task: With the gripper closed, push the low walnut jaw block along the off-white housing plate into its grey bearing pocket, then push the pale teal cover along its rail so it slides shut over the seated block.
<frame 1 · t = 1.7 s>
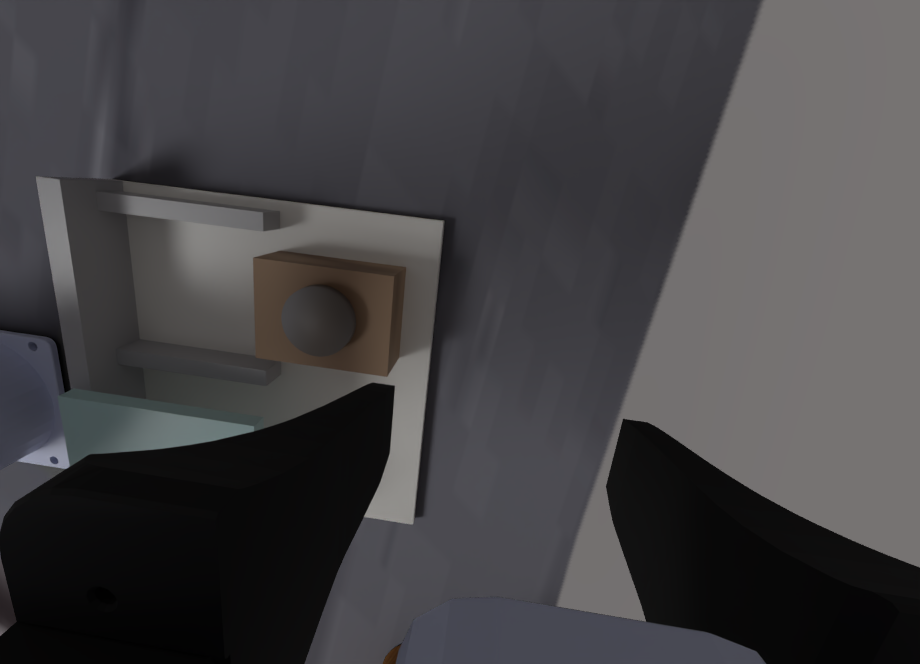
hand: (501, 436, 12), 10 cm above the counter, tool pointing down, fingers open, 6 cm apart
cover: (158, 483, 20), point 5 cm above the counter, slide at 0.0 cm
housing: (217, 285, 22), on the counter
jaw block: (341, 305, 22), resting on housing
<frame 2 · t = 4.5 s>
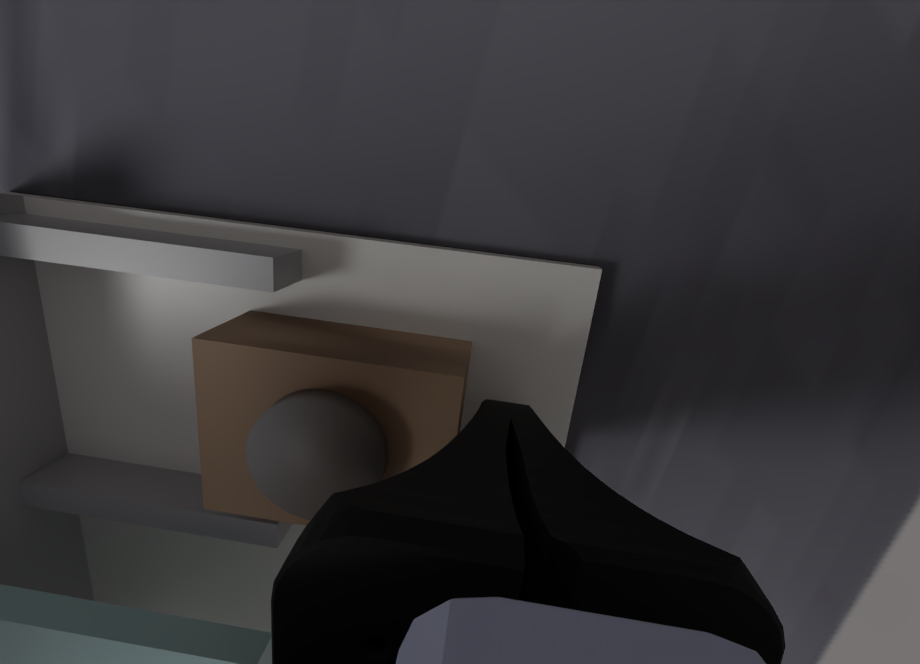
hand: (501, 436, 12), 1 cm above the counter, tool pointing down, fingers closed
housing: (193, 369, 13), on the counter
jaw block: (356, 402, 13), point 1 cm above the counter, touching gripper
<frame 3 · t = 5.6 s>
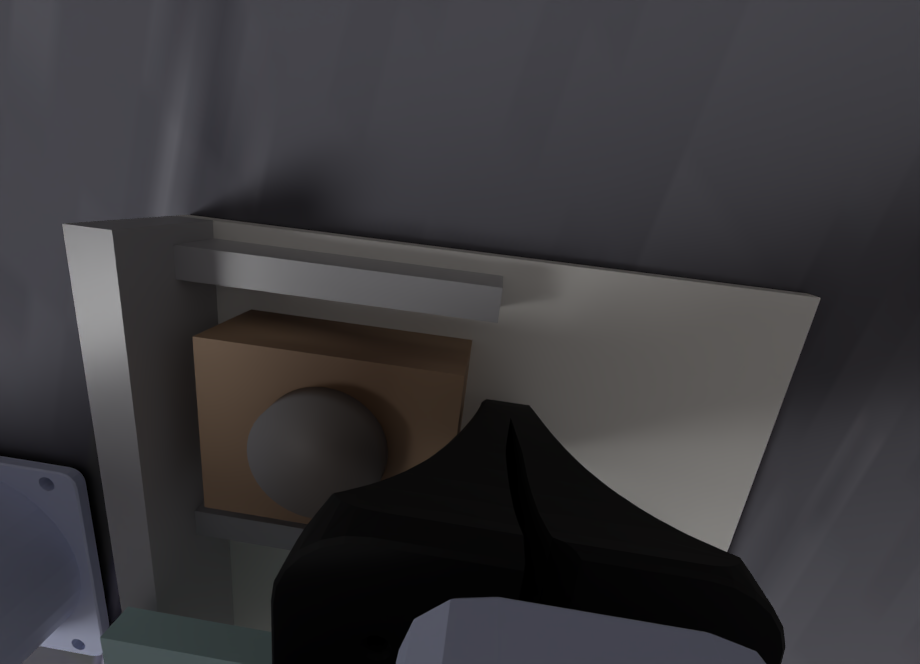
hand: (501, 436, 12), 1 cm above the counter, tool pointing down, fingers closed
housing: (363, 394, 13), on the counter
jaw block: (356, 400, 13), resting on housing, touching gripper
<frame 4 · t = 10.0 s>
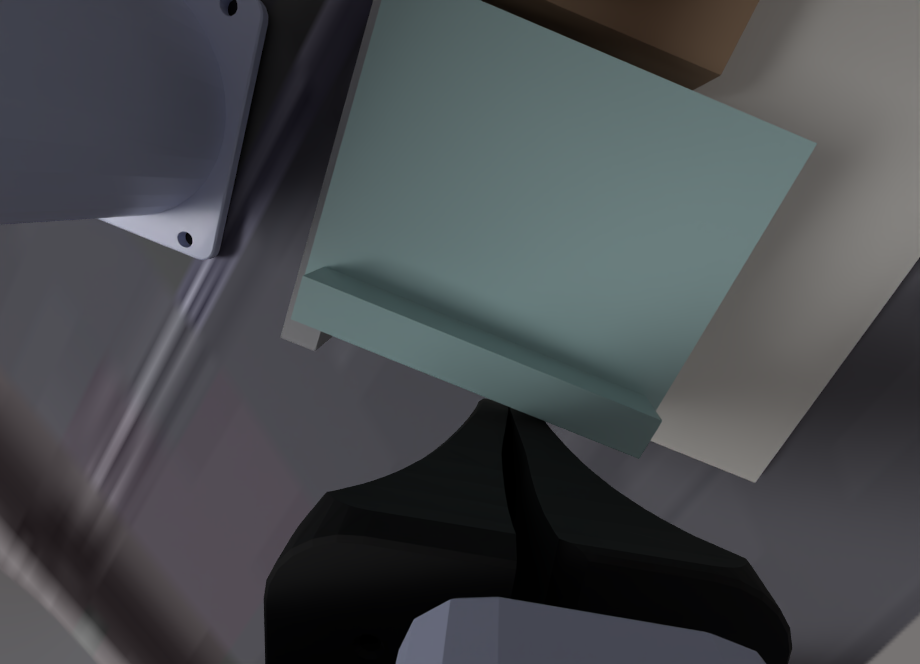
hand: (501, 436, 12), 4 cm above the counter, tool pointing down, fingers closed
cover: (531, 229, 9), point 5 cm above the counter, slide at 1.2 cm, touching gripper
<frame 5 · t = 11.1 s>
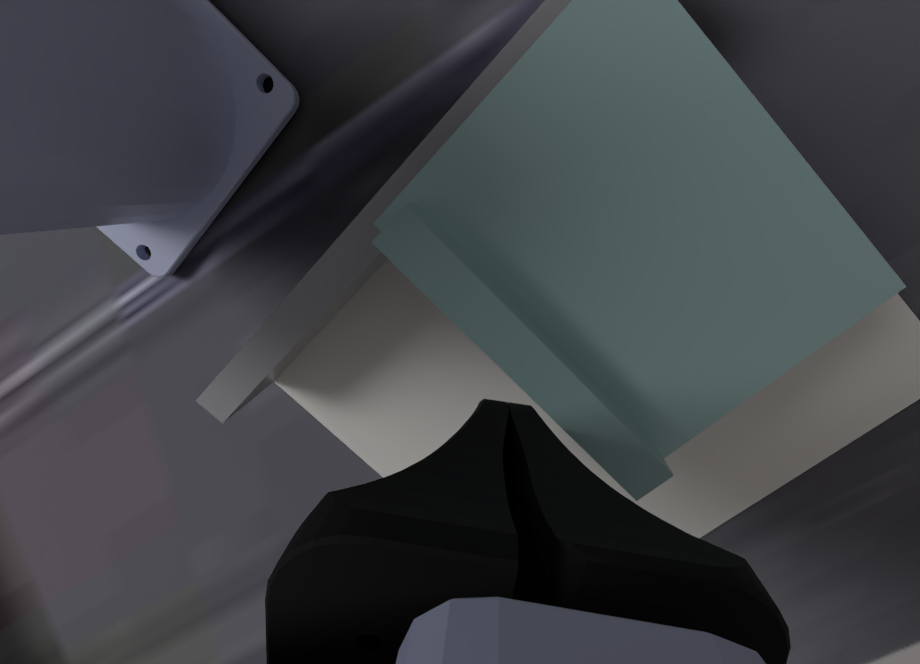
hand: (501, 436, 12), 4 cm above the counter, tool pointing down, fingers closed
cover: (633, 255, 9), point 5 cm above the counter, slide at 7.3 cm, touching gripper
housing: (607, 218, 14), on the counter
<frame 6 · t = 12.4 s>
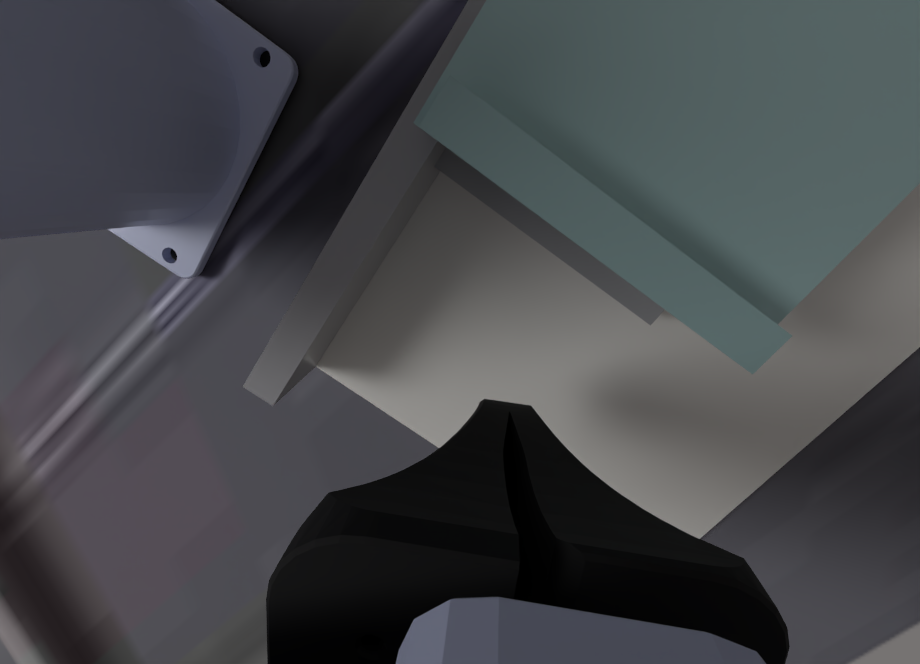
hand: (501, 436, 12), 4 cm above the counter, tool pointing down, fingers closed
cover: (705, 96, 8), point 5 cm above the counter, slide at 8.0 cm
housing: (632, 131, 13), on the counter
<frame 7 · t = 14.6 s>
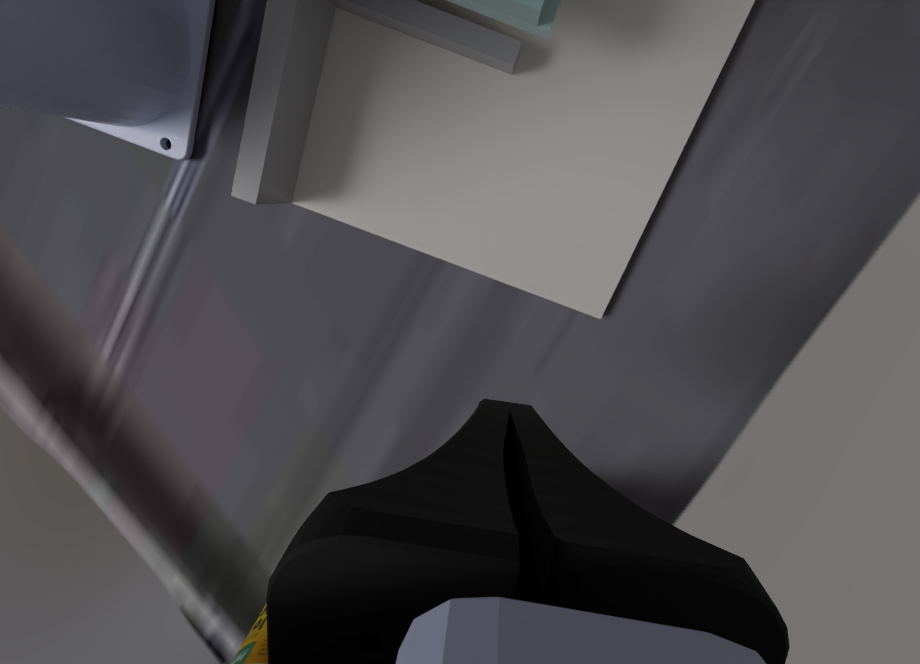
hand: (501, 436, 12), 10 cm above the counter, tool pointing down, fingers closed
supplement bottle: (324, 588, 28), on the counter
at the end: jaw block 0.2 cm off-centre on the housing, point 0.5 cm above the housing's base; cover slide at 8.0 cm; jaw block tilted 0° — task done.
